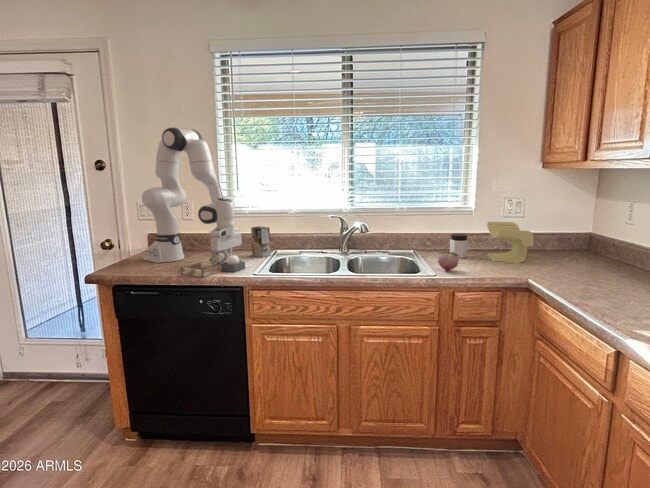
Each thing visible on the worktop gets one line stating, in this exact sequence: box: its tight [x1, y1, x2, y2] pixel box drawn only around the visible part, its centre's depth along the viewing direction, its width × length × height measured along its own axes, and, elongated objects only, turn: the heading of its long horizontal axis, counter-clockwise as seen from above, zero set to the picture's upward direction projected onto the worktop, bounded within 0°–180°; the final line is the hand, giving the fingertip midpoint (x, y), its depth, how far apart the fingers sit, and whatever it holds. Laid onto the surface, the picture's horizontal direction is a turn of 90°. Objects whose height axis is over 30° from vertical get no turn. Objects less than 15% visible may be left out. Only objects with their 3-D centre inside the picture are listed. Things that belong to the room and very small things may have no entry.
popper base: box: [221, 260, 246, 273], centre depth 187 cm, size 8×8×4 cm
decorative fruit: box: [437, 249, 459, 272], centre depth 181 cm, size 9×8×10 cm
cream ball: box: [226, 254, 240, 265], centre depth 187 cm, size 6×6×7 cm
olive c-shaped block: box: [486, 221, 535, 263], centre depth 202 cm, size 30×16×18 cm, turn 167°
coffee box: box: [250, 225, 272, 258], centre depth 217 cm, size 9×6×16 cm
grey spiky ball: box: [208, 251, 228, 267], centre depth 192 cm, size 9×8×10 cm
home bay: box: [180, 262, 222, 278], centre depth 182 cm, size 14×12×3 cm
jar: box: [449, 233, 469, 259], centre depth 210 cm, size 9×8×12 cm
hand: (227, 257), depth 199 cm, fingers closed
